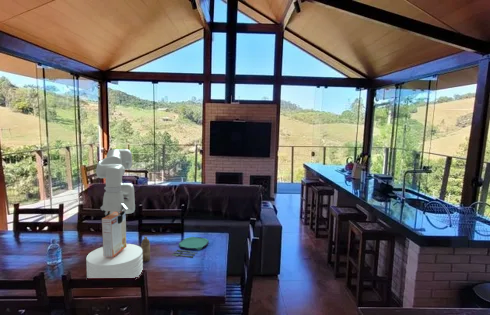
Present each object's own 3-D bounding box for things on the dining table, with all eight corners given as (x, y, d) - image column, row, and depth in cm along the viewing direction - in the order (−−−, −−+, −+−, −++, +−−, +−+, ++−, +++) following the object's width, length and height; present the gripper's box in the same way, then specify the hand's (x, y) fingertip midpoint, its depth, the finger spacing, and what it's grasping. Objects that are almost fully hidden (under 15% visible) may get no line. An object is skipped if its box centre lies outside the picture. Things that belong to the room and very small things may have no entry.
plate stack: (105, 260, 181) (105, 242, 179) (150, 263, 178) (150, 245, 177) (74, 284, 153) (74, 263, 152) (127, 289, 150) (127, 267, 149)
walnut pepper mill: (139, 261, 181) (139, 238, 179) (143, 257, 186) (143, 235, 184) (147, 261, 180) (147, 238, 178) (151, 258, 185) (151, 235, 183)
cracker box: (116, 246, 171) (116, 210, 169) (126, 247, 171) (126, 210, 168) (102, 256, 158) (101, 217, 155) (113, 257, 157) (112, 218, 155)
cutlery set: (212, 241, 215) (212, 238, 214) (195, 259, 186) (195, 256, 186) (187, 238, 220) (187, 235, 219) (166, 255, 191) (166, 252, 191)
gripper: (94, 190, 158) (95, 223, 160) (124, 192, 155) (125, 225, 157) (103, 187, 165) (104, 219, 167) (132, 189, 163) (132, 221, 165)
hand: (114, 222), depth 162 cm, fingers closed on cracker box, 6 cm apart
